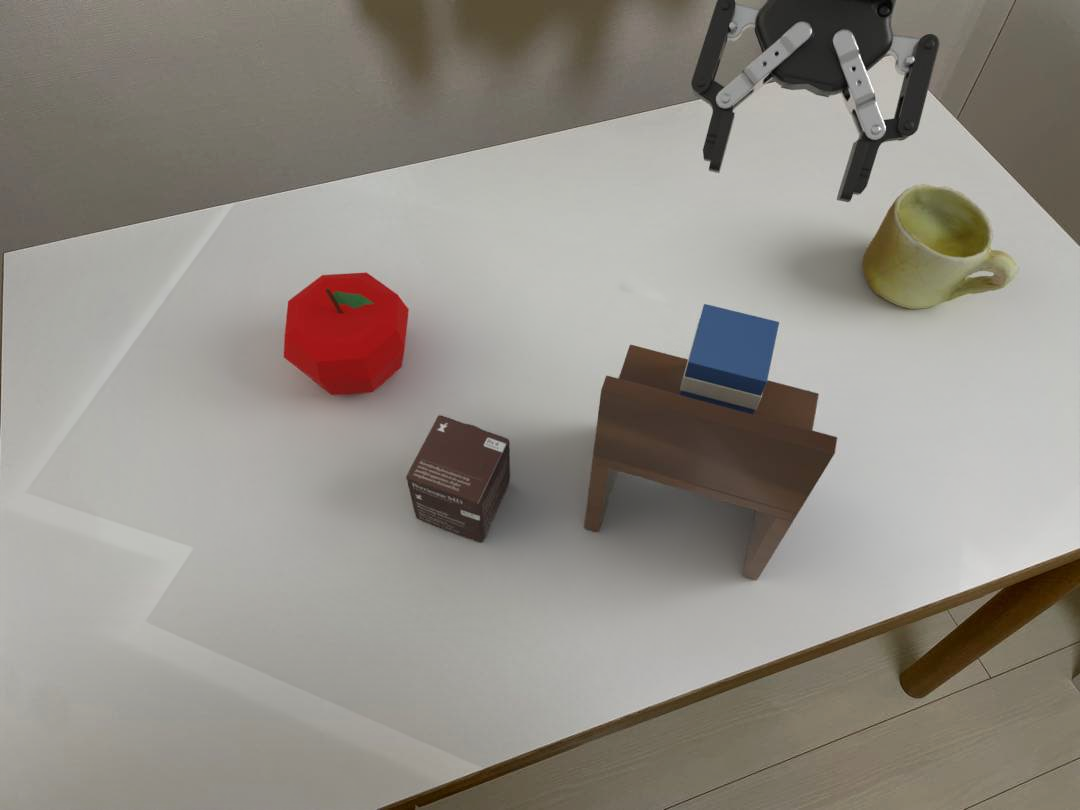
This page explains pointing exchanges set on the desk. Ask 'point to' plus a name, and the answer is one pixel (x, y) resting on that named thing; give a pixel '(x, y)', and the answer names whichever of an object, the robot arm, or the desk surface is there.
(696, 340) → the carton
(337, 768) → the desk surface
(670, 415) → the chair
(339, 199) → the desk surface
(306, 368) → the apple
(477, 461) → the box
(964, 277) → the mug
